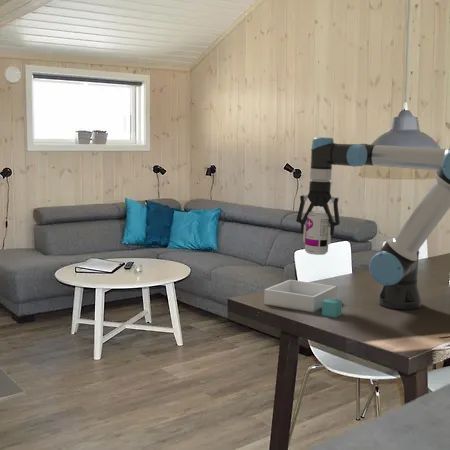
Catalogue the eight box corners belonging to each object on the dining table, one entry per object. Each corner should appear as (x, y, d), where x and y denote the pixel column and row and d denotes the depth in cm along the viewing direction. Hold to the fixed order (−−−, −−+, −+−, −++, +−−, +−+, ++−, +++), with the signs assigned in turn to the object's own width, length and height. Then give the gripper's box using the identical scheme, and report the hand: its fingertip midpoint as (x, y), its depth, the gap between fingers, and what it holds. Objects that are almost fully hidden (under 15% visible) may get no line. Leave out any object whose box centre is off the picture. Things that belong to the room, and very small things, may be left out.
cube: (341, 314, 217) (341, 300, 217) (335, 317, 213) (336, 303, 213) (328, 312, 220) (328, 298, 219) (322, 315, 216) (322, 301, 215)
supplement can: (307, 254, 227) (309, 213, 225) (303, 250, 235) (305, 210, 233) (329, 255, 227) (332, 214, 225) (324, 250, 236) (327, 211, 233)
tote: (336, 300, 235) (336, 286, 235) (313, 312, 219) (314, 297, 218) (289, 293, 246) (289, 279, 245) (264, 304, 230) (264, 289, 229)
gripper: (351, 181, 227) (347, 243, 231) (293, 178, 234) (290, 238, 237) (348, 183, 220) (344, 247, 224) (289, 179, 227) (286, 241, 230)
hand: (316, 242), depth 231 cm, fingers closed on supplement can, 8 cm apart
